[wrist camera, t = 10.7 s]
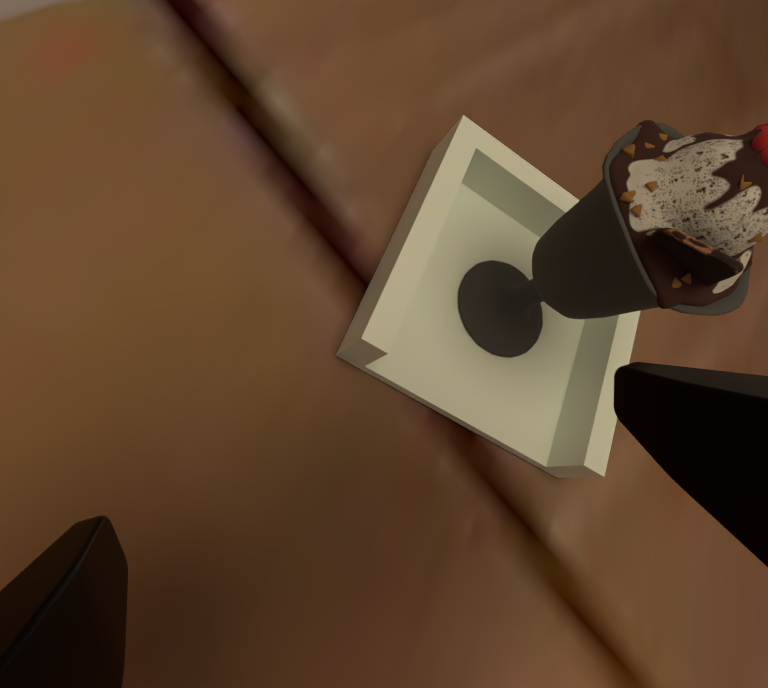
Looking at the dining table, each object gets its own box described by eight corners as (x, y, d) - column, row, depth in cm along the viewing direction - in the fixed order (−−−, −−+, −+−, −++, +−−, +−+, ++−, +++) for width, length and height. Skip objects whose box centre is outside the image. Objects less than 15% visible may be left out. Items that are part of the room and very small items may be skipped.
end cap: (556, 477, 26) (604, 477, 23) (335, 355, 22) (361, 338, 20) (608, 274, 30) (652, 254, 28) (432, 150, 27) (463, 115, 25)
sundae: (526, 234, 28) (877, 6, 14) (571, 356, 27) (984, 232, 14) (422, 254, 25) (744, -11, 11) (469, 391, 24) (871, 276, 11)
